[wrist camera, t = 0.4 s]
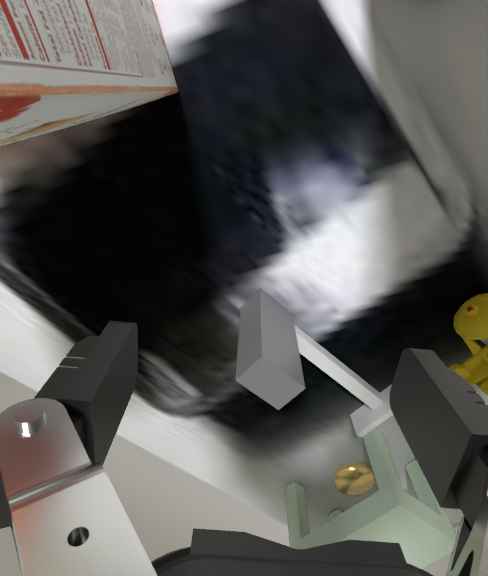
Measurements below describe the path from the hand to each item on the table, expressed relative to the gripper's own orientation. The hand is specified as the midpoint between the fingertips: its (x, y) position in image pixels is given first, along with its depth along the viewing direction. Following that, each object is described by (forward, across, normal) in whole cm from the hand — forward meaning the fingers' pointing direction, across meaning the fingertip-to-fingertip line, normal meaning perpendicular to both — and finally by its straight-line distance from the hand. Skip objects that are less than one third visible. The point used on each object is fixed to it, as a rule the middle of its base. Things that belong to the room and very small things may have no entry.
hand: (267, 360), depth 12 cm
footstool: (+20, -13, +26) cm, 35 cm away
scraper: (+19, -7, +11) cm, 23 cm away
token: (+20, -13, +26) cm, 35 cm away
